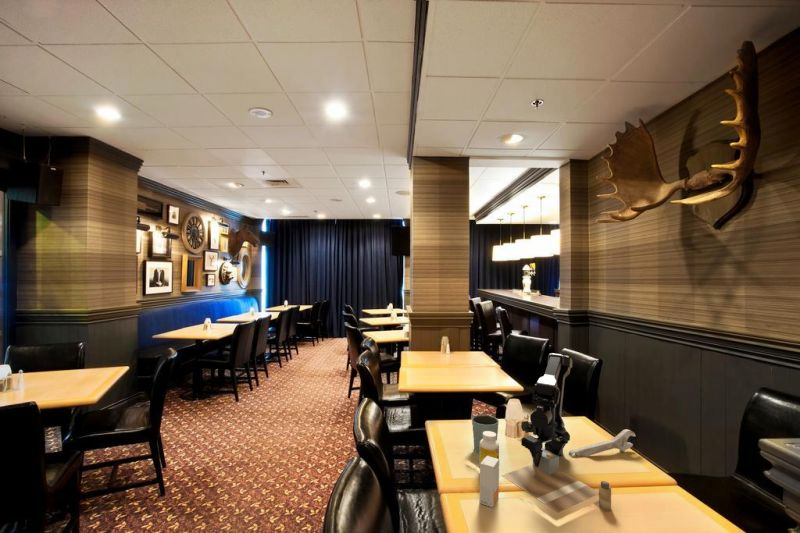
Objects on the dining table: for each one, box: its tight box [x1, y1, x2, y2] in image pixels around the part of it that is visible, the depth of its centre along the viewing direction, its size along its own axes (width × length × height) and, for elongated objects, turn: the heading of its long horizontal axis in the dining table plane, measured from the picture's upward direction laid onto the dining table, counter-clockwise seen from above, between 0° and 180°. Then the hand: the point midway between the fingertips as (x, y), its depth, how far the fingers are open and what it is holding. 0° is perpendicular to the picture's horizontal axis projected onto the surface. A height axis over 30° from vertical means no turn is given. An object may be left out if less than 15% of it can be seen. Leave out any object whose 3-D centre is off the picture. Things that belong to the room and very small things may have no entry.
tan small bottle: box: [598, 480, 612, 512], centre depth 112 cm, size 3×3×7 cm
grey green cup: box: [471, 414, 499, 454], centre depth 146 cm, size 10×10×12 cm
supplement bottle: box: [478, 431, 500, 469], centre depth 131 cm, size 7×7×13 cm
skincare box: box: [479, 456, 500, 508], centre depth 114 cm, size 6×4×12 cm
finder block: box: [532, 447, 560, 475], centre depth 131 cm, size 5×7×5 cm
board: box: [501, 463, 599, 513], centre depth 122 cm, size 20×22×1 cm
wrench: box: [568, 429, 636, 458], centre depth 144 cm, size 8×2×30 cm
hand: (545, 463), depth 131 cm, fingers open, 9 cm apart
